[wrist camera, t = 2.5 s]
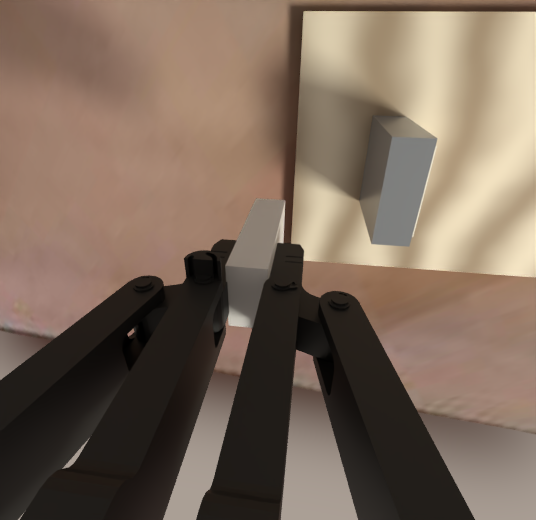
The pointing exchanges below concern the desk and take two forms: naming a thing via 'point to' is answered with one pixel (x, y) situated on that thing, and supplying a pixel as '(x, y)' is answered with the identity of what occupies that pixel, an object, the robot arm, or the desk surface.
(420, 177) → the tile
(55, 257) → the desk surface
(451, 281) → the desk surface
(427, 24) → the board
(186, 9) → the desk surface
